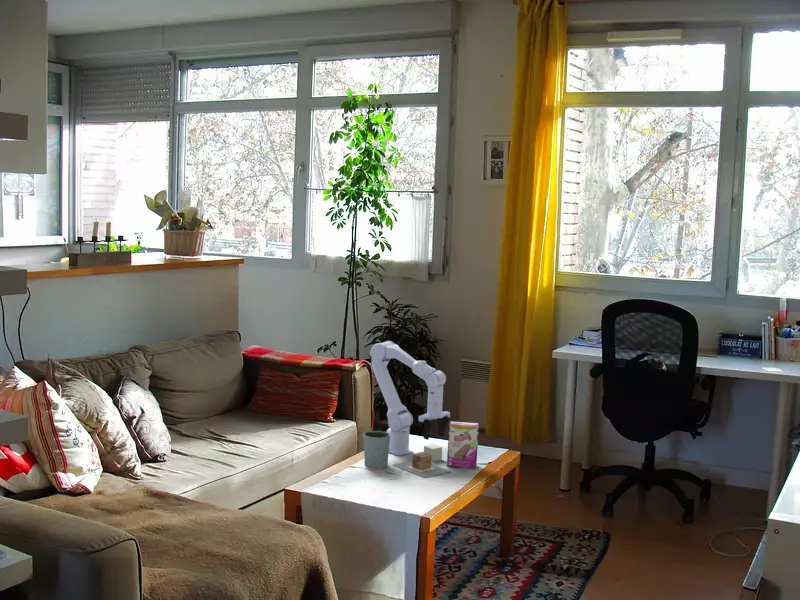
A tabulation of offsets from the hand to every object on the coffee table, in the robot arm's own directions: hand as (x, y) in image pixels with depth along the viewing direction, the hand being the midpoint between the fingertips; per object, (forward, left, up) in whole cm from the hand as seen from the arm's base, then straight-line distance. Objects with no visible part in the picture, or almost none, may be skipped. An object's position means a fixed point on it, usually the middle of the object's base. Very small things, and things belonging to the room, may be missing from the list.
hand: (433, 437), depth 327 cm
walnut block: (+7, -12, -8) cm, 16 cm away
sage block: (0, 0, -8) cm, 8 cm away
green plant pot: (-5, -24, -9) cm, 26 cm away
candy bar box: (+13, +3, -9) cm, 16 cm away
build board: (+7, -12, -8) cm, 16 cm away
